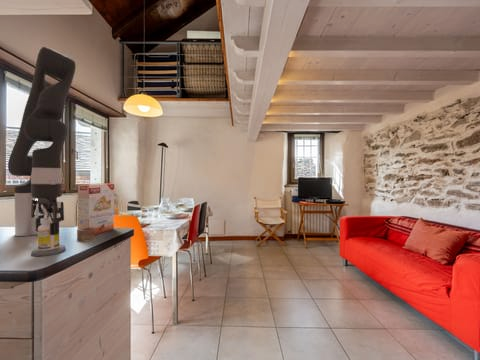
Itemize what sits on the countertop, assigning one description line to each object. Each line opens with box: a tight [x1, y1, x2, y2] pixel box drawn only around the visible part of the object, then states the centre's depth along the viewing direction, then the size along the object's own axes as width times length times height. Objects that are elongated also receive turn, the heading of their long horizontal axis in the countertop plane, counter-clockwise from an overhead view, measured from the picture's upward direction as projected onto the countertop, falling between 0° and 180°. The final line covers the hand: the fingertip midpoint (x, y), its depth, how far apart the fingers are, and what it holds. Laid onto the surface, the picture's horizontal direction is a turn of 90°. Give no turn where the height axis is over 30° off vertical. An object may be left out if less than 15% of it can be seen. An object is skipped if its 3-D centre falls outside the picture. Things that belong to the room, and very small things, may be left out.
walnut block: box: [76, 228, 95, 243], centre depth 90 cm, size 4×4×4 cm
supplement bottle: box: [37, 217, 61, 251], centre depth 75 cm, size 5×5×10 cm
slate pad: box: [30, 244, 66, 258], centre depth 75 cm, size 8×8×1 cm
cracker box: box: [77, 183, 115, 236], centre depth 101 cm, size 14×6×21 cm, turn 168°
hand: (47, 232), depth 75 cm, fingers open, 8 cm apart
